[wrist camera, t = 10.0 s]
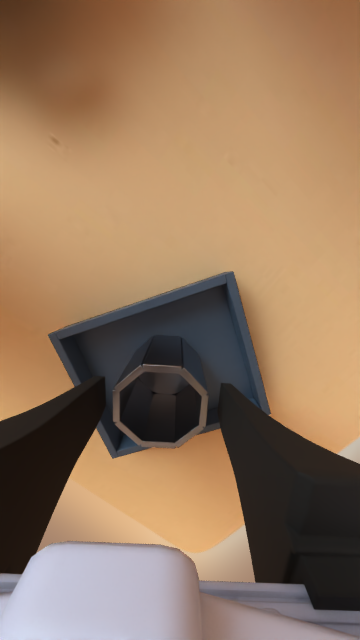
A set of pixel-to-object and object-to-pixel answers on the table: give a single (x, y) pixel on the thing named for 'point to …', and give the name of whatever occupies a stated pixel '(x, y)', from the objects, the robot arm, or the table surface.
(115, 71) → the table surface
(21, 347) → the table surface
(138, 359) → the faceted metal cup
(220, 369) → the tray
